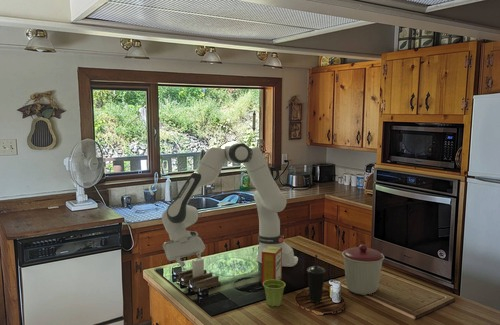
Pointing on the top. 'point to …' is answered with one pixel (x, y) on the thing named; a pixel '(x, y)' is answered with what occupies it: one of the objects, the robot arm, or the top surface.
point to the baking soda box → (272, 263)
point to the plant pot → (274, 292)
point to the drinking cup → (315, 281)
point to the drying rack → (199, 279)
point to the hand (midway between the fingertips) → (191, 263)
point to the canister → (362, 269)
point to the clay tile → (198, 267)
